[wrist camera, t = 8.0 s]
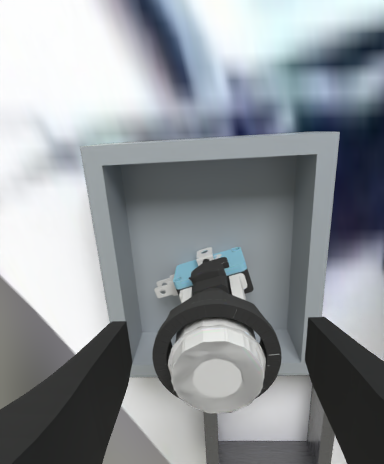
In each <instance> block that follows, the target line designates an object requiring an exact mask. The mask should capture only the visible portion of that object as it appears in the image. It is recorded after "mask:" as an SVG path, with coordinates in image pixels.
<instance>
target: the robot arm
mask: <svg viewBox="0 0 384 464" xmlns="http://www.w3.org/2000/svg"><path fill="white" fill-rule="evenodd" d="M305 363H306V366H307V369H308V373H309V376H310V379H311V382H312V385H313V387H314V390H315V392H316V394H317V396H318V399H319V401H320V403H321V405H322V408H323V410H324V412H325V414H326V416H327V418H328V421H329V423H330V425H331V427H332V429H333V432H334V434H335V436H336V438H337V440H338V443H339V445H340V447H341V449H342V452H343V454H344V457H345V459H346V462H347V464H384V361H382V360H381V359H379V358H378V357H377V356H375V355H374V354H372V353H371V352H370V351H368V350H367V349H366V348H364V347H363V346H362V345H360V344H359V343H358V342H356V341H355V340H354V339H352V338H351V337H350V336H348V335H347V334H346V333H345V332H343V331H342V330H341V329H339V328H338V327H337V326H336V325H334V324H333V323H332V322H330V321H329V320H328V319H326V318H325V317H308V325H307V338H306V350H305ZM131 367H132V355H131V348H130V341H129V335H128V328H127V321H112V322H111V323H109V324H108V325H107V326H106V327H105V328H104V329H103V330H102V331H101V332H100V333H99V334H98V335H97V336H96V337H94V338H93V339H92V340H91V341H90V342H89V343H88V344H87V345H86V346H85V347H84V348H83V349H81V350H80V351H79V352H78V353H77V354H76V355H75V356H74V357H73V358H71V359H70V360H69V361H68V362H67V363H65V364H64V365H63V366H62V367H61V368H59V369H58V370H57V371H56V372H55V373H53V374H52V375H51V376H49V377H48V378H47V379H45V380H44V381H43V382H41V383H40V384H39V385H37V386H36V387H34V388H33V389H32V390H30V391H29V392H27V393H26V394H24V395H23V396H21V397H20V398H18V399H17V400H15V401H13V402H12V403H10V404H9V405H7V406H5V407H4V408H2V409H1V410H0V464H102V462H103V458H104V455H105V452H106V448H107V445H108V442H109V439H110V436H111V433H112V431H113V428H114V425H115V422H116V419H117V416H118V413H119V410H120V407H121V404H122V401H123V399H124V396H125V393H126V389H127V386H128V382H129V377H130V372H131Z"/></svg>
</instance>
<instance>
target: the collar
mask: <svg viewBox="0 0 384 464" xmlns="http://www.w3.org/2000/svg"><path fill="white" fill-rule="evenodd" d="M277 376H284V375H277ZM204 424H205V441H206V459H207V464H331V457H332V450H333V442H334V435H335V434H334V432H333V429H332V427H331V425H330V423H329V421H328V418H327V416H326V414H325V412H324V410H323V408H322V405H321V403H320V401H319V399H318V396H317V394H316V392H315V390H314V387H313V385H312V395H311V405H310V416H309V426H308V437H307V441H218V427H217V413H206V412H204Z"/></svg>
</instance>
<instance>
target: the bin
mask: <svg viewBox="0 0 384 464" xmlns="http://www.w3.org/2000/svg"><path fill="white" fill-rule="evenodd" d="M339 134H340V132H298V133H281V134H264V135H246V136H229V137H211V138H194V139H177V140H159V141H142V142H125V143H107V144H98V145H90V146H82V147H80V150H81V156H82V162H83V168H84V174H85V180H86V186H87V191H88V197H89V203H90V209H91V215H92V221H93V227H94V233H95V238H96V244H97V250H98V256H99V262H100V268H101V274H102V280H103V285H104V291H105V297H106V303H107V309H108V315H109V321H110V323H111V322H112V321H127V328H128V335H129V341H130V348H131V355H132V367H131V372H130V377H158V376H157V374H156V372H155V369H154V365H153V359H152V353H153V346H154V342H155V338H156V335H157V333H158V331H159V329H160V327H161V326H162V324H163V323H164V321H165V320H166V319H167V317H168V315H169V313H170V311H171V310H172V309H174V308H175V307H177V306H178V305H180V304H181V300H180V298H179V295H176V296H173V295H169V296H165V297H162V298H157V295H156V293H155V291H154V289H155V288H157V287H158V286H157V284H156V283H157V281H161V280H164V279H167V278H170V276H171V275H174V274H175V270H176V267H177V266H178V265H180V264H183V263H186V262H190V261H193V260H196V259H197V258H196V257H197V251H199V250H202V249H205V248H208V247H212V250H213V254H216V253H220V252H223V251H226V250H230V249H232V248H235V247H241V250H242V253H243V256H244V259H245V262H246V265H247V269H248V272H249V275H250V278H251V281H252V285H253V288H254V290H253V291H252V292H250V293H246V294H245V297H246V301H249V302H251V303H253V304H254V305H255V306H256V307H257V308H258V310H259V311H260V312H261V314H262V315H263V316H264V317H265V319H266V320H267V321H268V322H269V323H270V325H271V326H272V327H273V329H274V331H275V333H276V335H277V338H278V341H279V344H280V347H281V356H282V359H281V366H280V370H279V372H278V375H309V373H308V369H307V366H306V363H305V350H306V338H307V325H308V317H322V307H323V297H324V287H325V276H326V266H327V256H328V246H329V236H330V226H331V215H332V205H333V195H334V185H335V175H336V165H337V155H338V144H339ZM206 252H207V251H204V252H202V253H206ZM164 285H167V283H162V286H164ZM160 293H161V294H165V293H166V291H165V290H164V291H160ZM176 334H177V333H176ZM176 334H175V335H174V336H173V338H172V339H171V343H172V346H173V345H174V344H175V342H176ZM254 334H255V338H256V341H257V342H258V343H260V336H259V335H258V334H257V333H256V332H255V331H254Z"/></svg>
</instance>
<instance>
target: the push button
mask: <svg viewBox="0 0 384 464" xmlns="http://www.w3.org/2000/svg"><path fill="white" fill-rule="evenodd" d="M204 251H207V252H206V253H202V252H204ZM196 258H197V259H196V260H193V261H190V262H186V263H183V264H180V265H178V266H177V267H176V270H175V274H174V275H171V276H170V278H167V279H164V280H161V281H157V283H156V284H157V286H158V287H157V288H155V289H154V291H155V293H156V295H157V298H162V297H165V296H169V295H173V296H176V295H179V298H180V300H181V304H180V305H178V306H177V307H175V308H174V309H172V310H171V311H170V313H169V315H168V317H167V319H166V320H165V321H164V323H163V324H162V326H161V327H160V329H159V331H158V333H157V335H156V338H155V342H154V346H153V353H152V359H153V365H154V369H155V372H156V374H157V376H158V378H159V380H160V381H161V382H162V384H163V385H164V386H165V387H166V388H167V389H168V390H169V391H170V392H171V393H172V394H174V395H175V396H176V397H178V398H180V399H181V400H183V401H184V402H185V403H186V404H187V405H189V406H191V407H192V408H195V409H198V410H201V411H204V412H206V413H231V412H233V411H236V410H238V409H241V408H243V407H245V406H248V405H249V404H251V402H252V401H253V400H254V399H255V398H257V397H259V396H260V395H261V394H263V393H264V392H265V391H266V390H267V389H268V388H269V387H270V386H271V385H272V383H273V382H274V380H275V379H276V377H277V375H278V372H279V370H280V366H281V359H282V356H281V347H280V344H279V341H278V338H277V335H276V333H275V331H274V329H273V327H272V326H271V325H270V323H269V322H268V321H267V320H266V319H265V317H264V316H263V315H262V314H261V312H260V311H259V310H258V308H257V307H256V306H255V305H254V304H253V303H251V302H249V301H246V297H245V294H246V293H250V292H252V291H253V290H254V288H253V285H252V281H251V278H250V275H249V272H248V269H247V265H246V262H245V259H244V256H243V253H242V250H241V247H235V248H232V249H230V250H226V251H223V252H220V253H216V254H213V250H212V247H208V248H205V249H202V250H199V251H197V257H196ZM162 283H167V285H164V286H162ZM164 290H165V291H166V293H165V294H161V293H160V291H164ZM254 331H255V332H256V333H257V334H258V335H259V336H260V343H258V342H257V341H256V338H255V334H254ZM176 333H177V334H176ZM175 334H176V342H175V344H174V345H173V346H172V343H171V339H172V338H173V336H174V335H175Z"/></svg>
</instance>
